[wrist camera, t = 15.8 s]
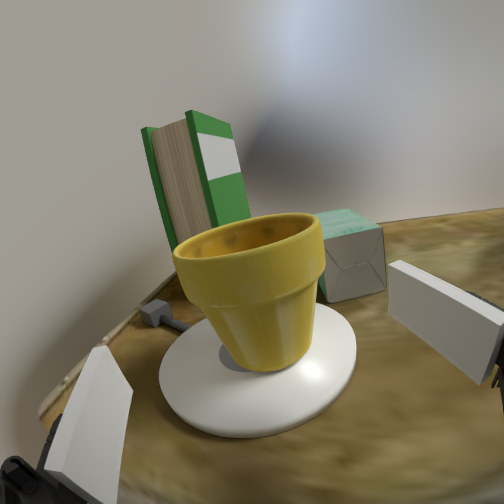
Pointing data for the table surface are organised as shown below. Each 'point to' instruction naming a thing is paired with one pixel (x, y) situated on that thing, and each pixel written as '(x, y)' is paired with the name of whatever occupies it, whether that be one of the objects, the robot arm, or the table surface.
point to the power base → (251, 377)
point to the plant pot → (257, 285)
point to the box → (351, 256)
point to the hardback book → (195, 176)
